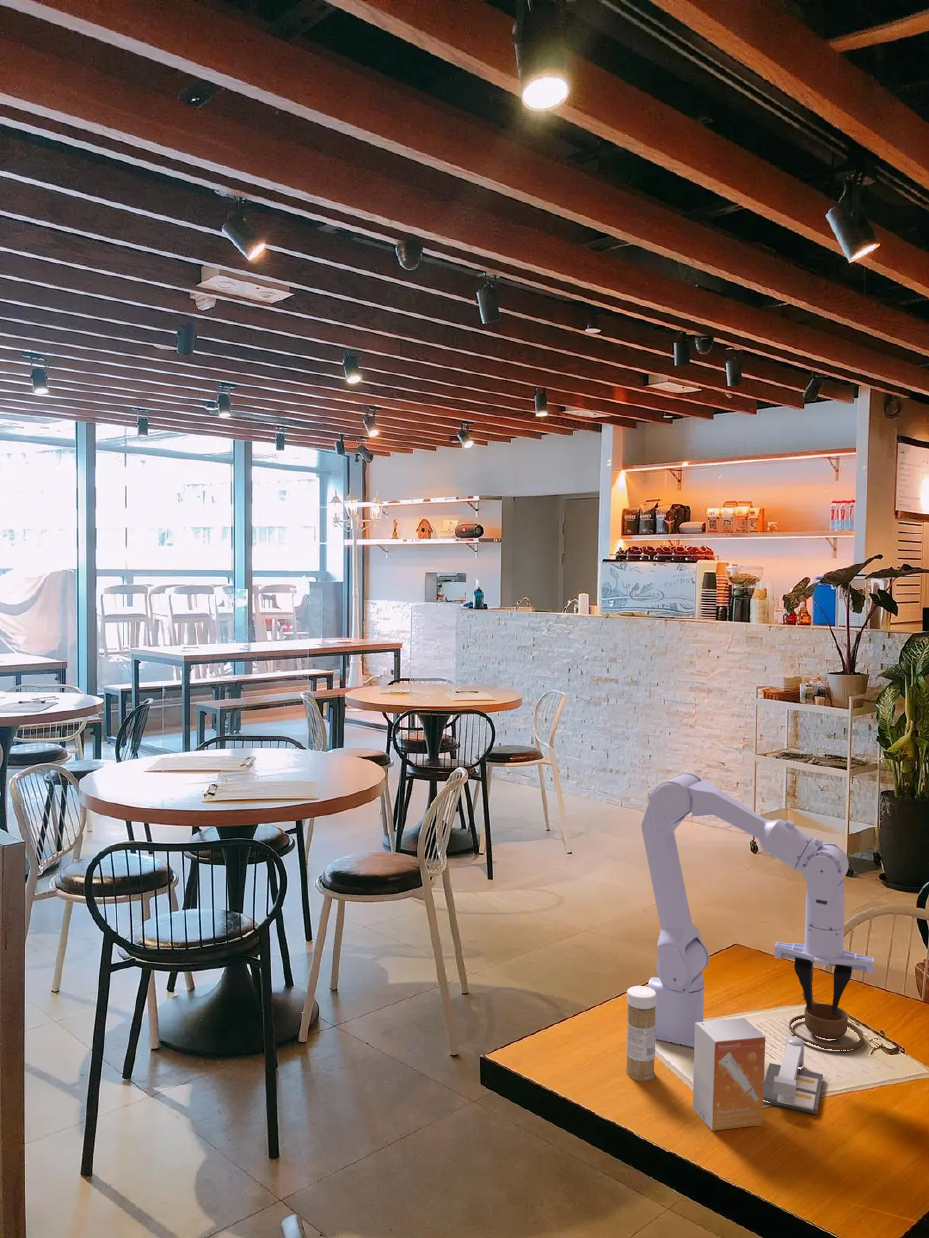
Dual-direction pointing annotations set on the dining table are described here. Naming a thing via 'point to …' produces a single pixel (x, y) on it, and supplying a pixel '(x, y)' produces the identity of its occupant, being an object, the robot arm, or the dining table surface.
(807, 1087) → the grey flat block
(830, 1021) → the place setting
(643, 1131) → the dining table surface
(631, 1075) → the sprinkles bottle
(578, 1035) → the dining table surface
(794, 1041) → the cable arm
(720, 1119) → the small box
